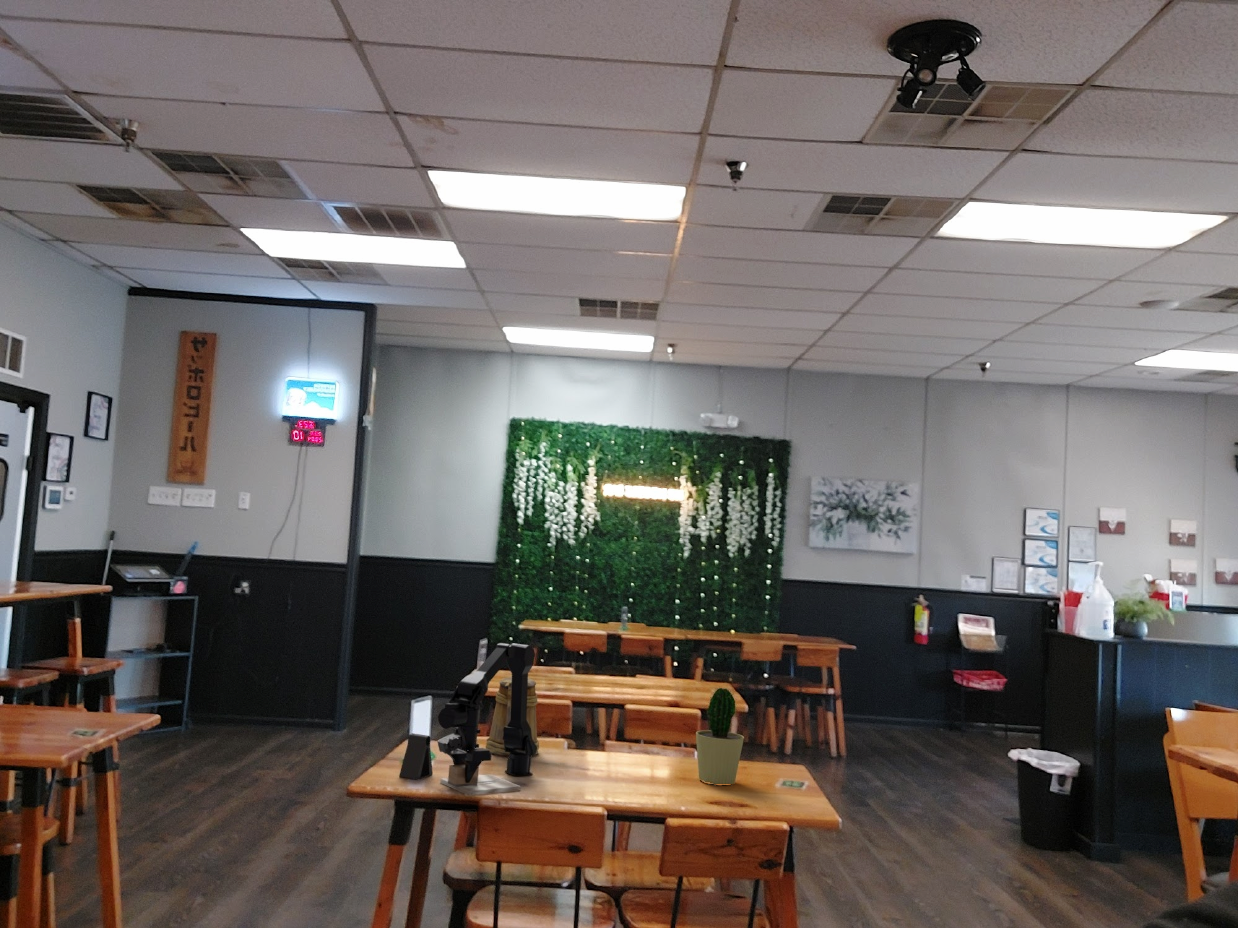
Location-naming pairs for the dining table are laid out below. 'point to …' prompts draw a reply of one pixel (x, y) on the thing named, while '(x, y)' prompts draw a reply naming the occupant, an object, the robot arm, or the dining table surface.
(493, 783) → the board
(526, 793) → the dining table surface
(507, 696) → the tankard
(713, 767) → the potted cactus
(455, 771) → the block
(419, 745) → the phone stand
